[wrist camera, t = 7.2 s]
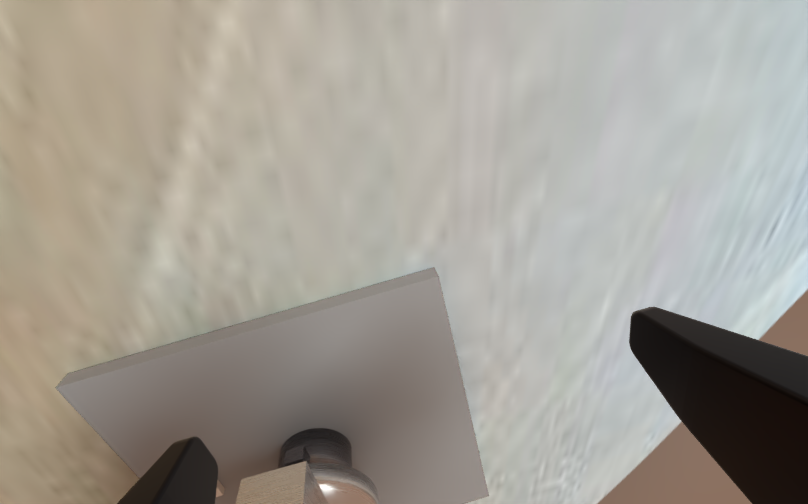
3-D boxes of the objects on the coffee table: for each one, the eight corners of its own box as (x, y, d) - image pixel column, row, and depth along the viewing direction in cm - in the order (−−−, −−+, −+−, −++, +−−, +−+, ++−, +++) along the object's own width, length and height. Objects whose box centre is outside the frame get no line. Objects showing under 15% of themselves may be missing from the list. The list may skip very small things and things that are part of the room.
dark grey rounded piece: (300, 492, 25) (296, 542, 23) (261, 430, 22) (251, 479, 20) (364, 472, 26) (367, 520, 23) (334, 408, 23) (333, 454, 20)
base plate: (234, 561, 29) (229, 583, 28) (67, 373, 20) (49, 393, 19) (484, 483, 30) (490, 501, 29) (434, 267, 21) (440, 280, 19)
